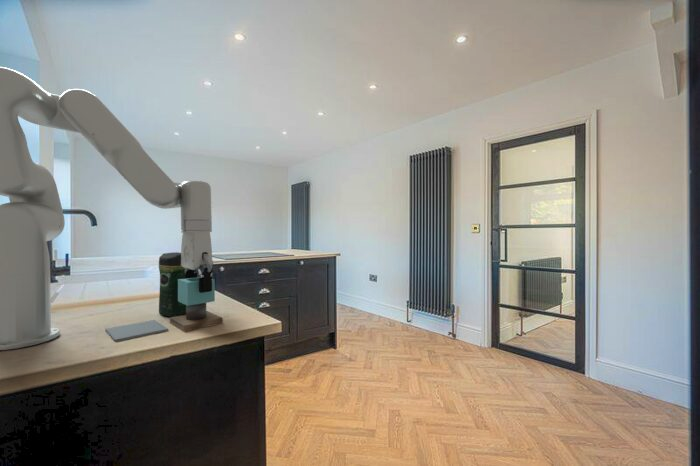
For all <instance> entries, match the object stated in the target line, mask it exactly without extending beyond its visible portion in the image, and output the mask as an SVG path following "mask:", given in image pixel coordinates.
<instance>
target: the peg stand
mask: <svg viewBox="0 0 700 466" xmlns="http://www.w3.org/2000/svg"><path fill="white" fill-rule="evenodd" d="M169 323H170V324H171V325H172V326H174V327H176V328H177V329H178V330H180V331H182V332H188V331H193V330H198V329H201V328H207V327H212V326H215V325H219V324H223V317H222V316H220V315H217V314H215V313H214V312H211V311H208V310H207V303H201V304H195V305H189V306H187V305H186V315H182V316H174V317H171V316H170V317H169Z"/></svg>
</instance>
